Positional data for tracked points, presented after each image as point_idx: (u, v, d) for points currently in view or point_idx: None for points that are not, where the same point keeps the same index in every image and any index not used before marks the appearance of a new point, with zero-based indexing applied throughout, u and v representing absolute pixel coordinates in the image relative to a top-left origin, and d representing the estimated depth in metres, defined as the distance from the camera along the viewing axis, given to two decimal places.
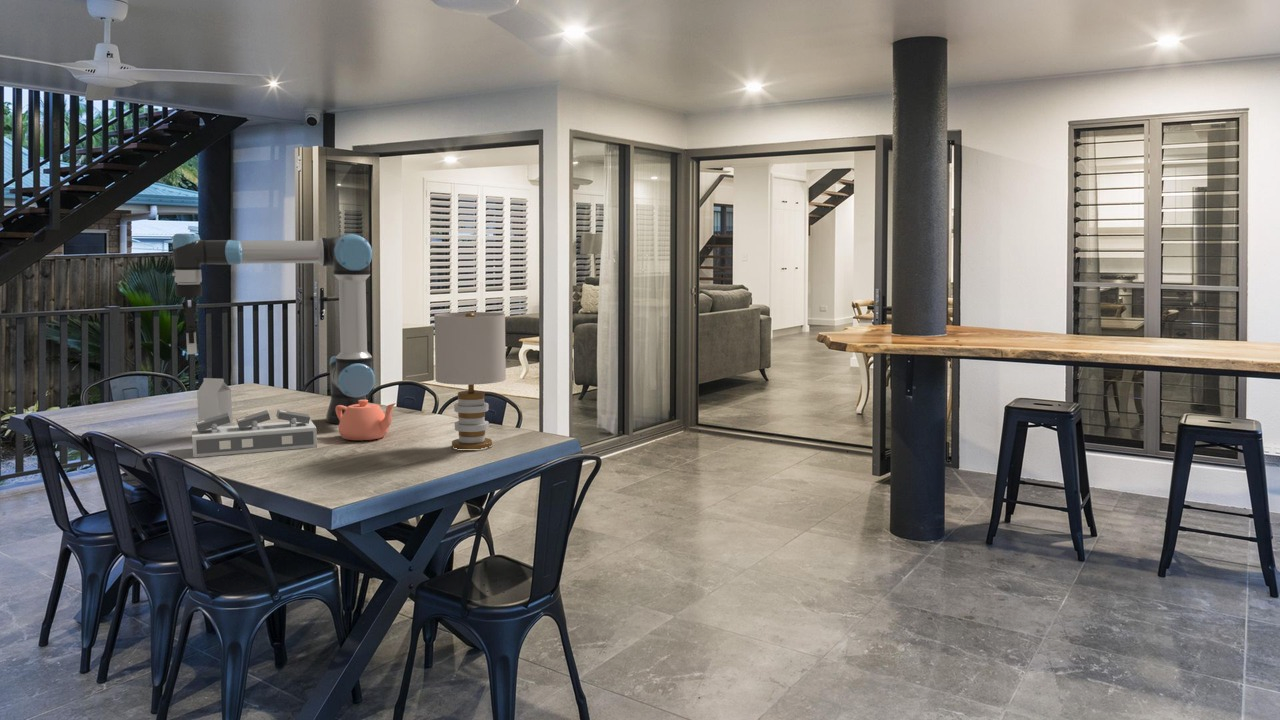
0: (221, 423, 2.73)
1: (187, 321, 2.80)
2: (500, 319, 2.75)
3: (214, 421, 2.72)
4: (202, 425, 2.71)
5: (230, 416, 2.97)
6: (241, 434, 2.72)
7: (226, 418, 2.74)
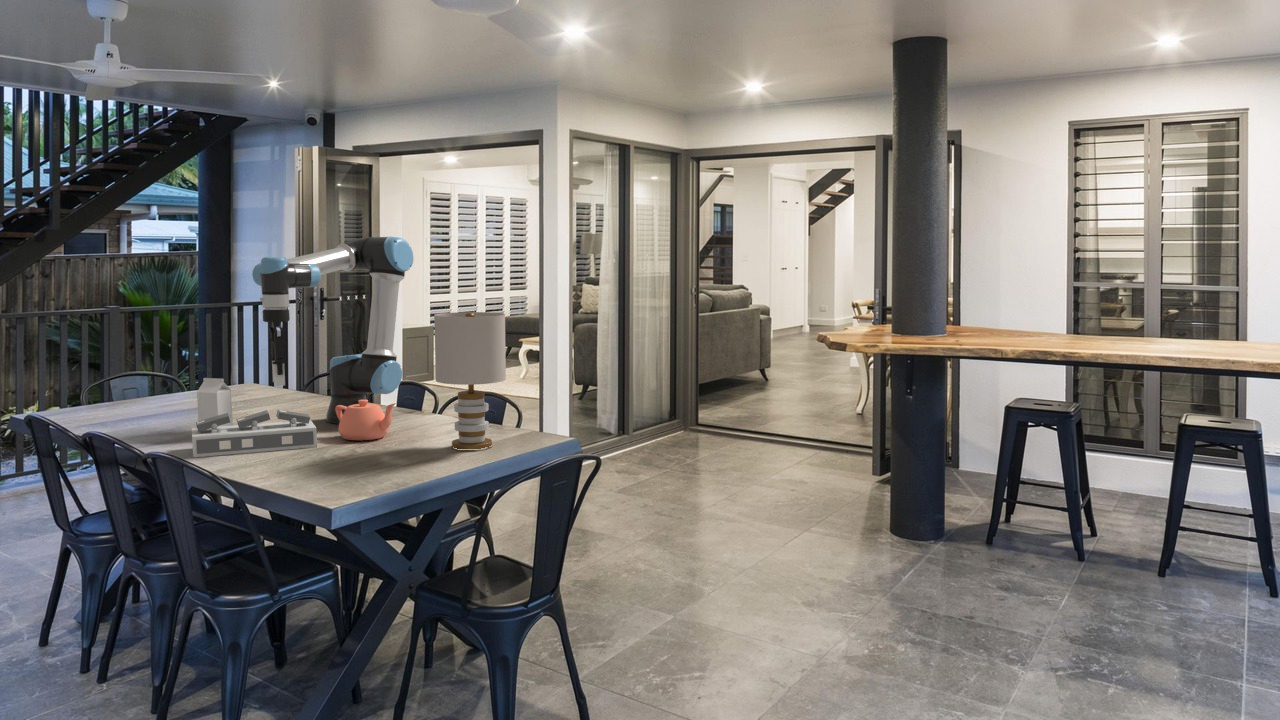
0: (221, 423, 2.73)
1: (276, 352, 2.74)
2: (500, 319, 2.75)
3: (214, 421, 2.72)
4: (202, 425, 2.71)
5: (230, 416, 2.97)
6: (241, 434, 2.72)
7: (226, 418, 2.74)
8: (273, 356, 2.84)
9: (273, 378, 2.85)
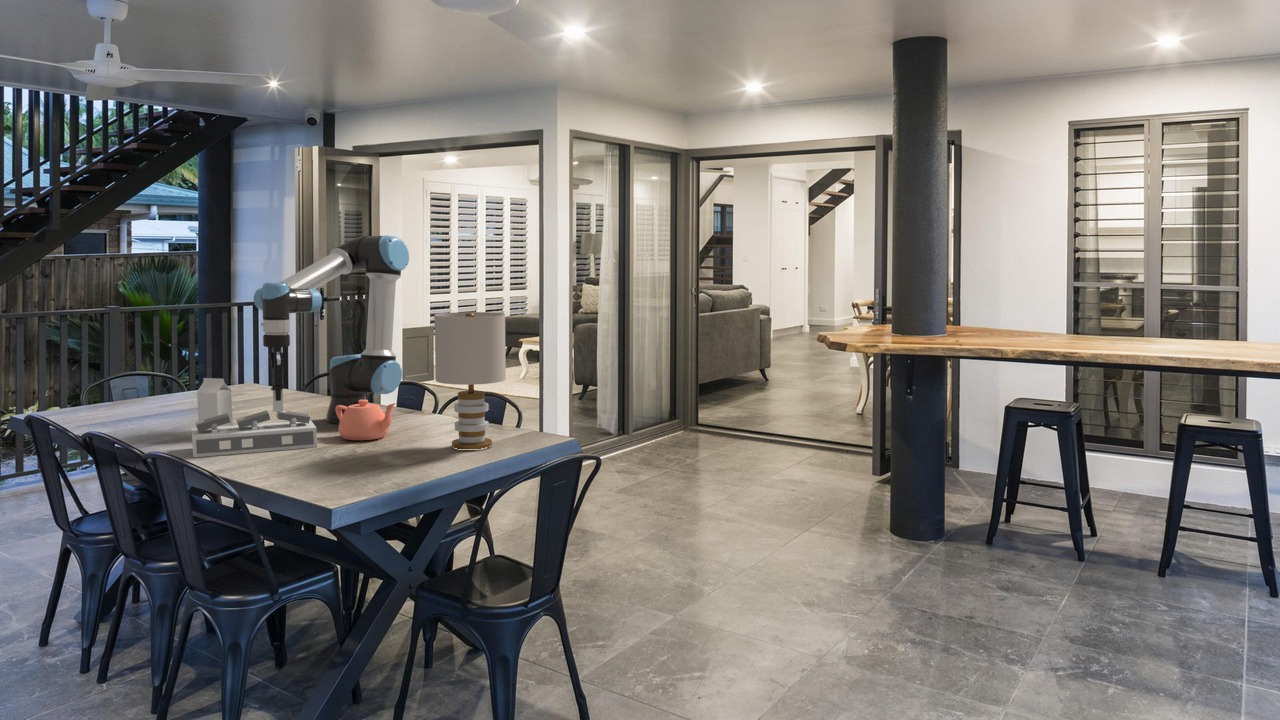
0: (221, 423, 2.73)
1: (275, 380, 2.77)
2: (500, 319, 2.75)
3: (214, 421, 2.72)
4: (202, 425, 2.71)
5: (230, 416, 2.97)
6: (241, 434, 2.72)
7: (226, 418, 2.74)
8: (274, 383, 2.82)
9: None
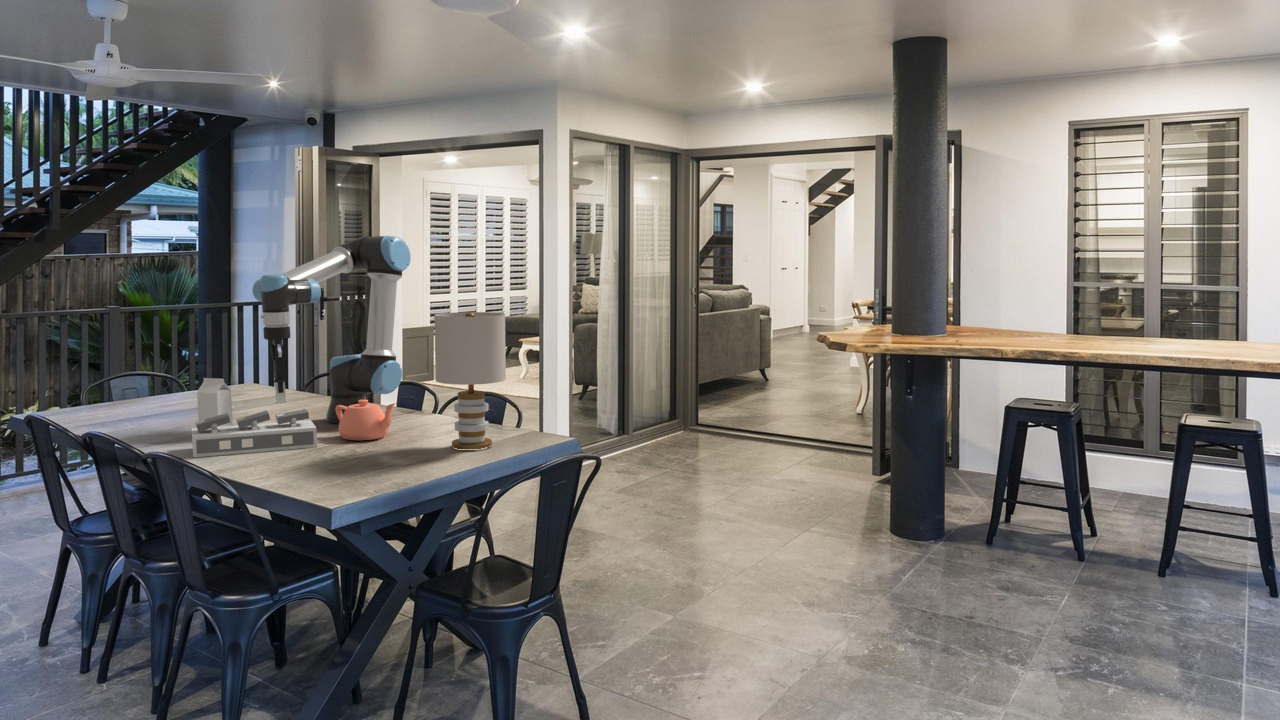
0: (221, 423, 2.73)
1: (277, 372, 2.78)
2: (500, 319, 2.75)
3: (214, 421, 2.72)
4: (202, 425, 2.71)
5: (230, 416, 2.97)
6: (241, 434, 2.72)
7: (226, 418, 2.74)
8: (276, 376, 2.82)
9: None
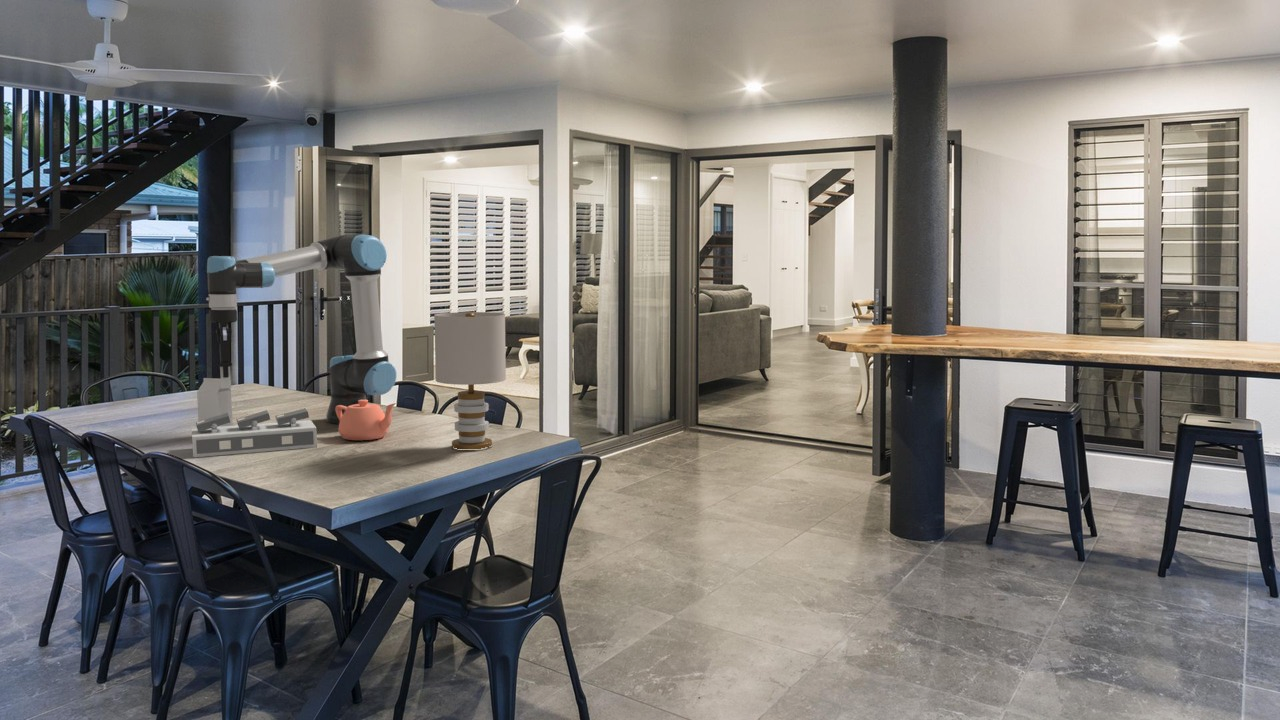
0: (221, 423, 2.73)
1: (222, 356, 2.70)
2: (500, 319, 2.75)
3: (214, 421, 2.72)
4: (202, 425, 2.71)
5: (230, 416, 2.97)
6: (241, 434, 2.72)
7: (226, 418, 2.74)
8: None
9: None
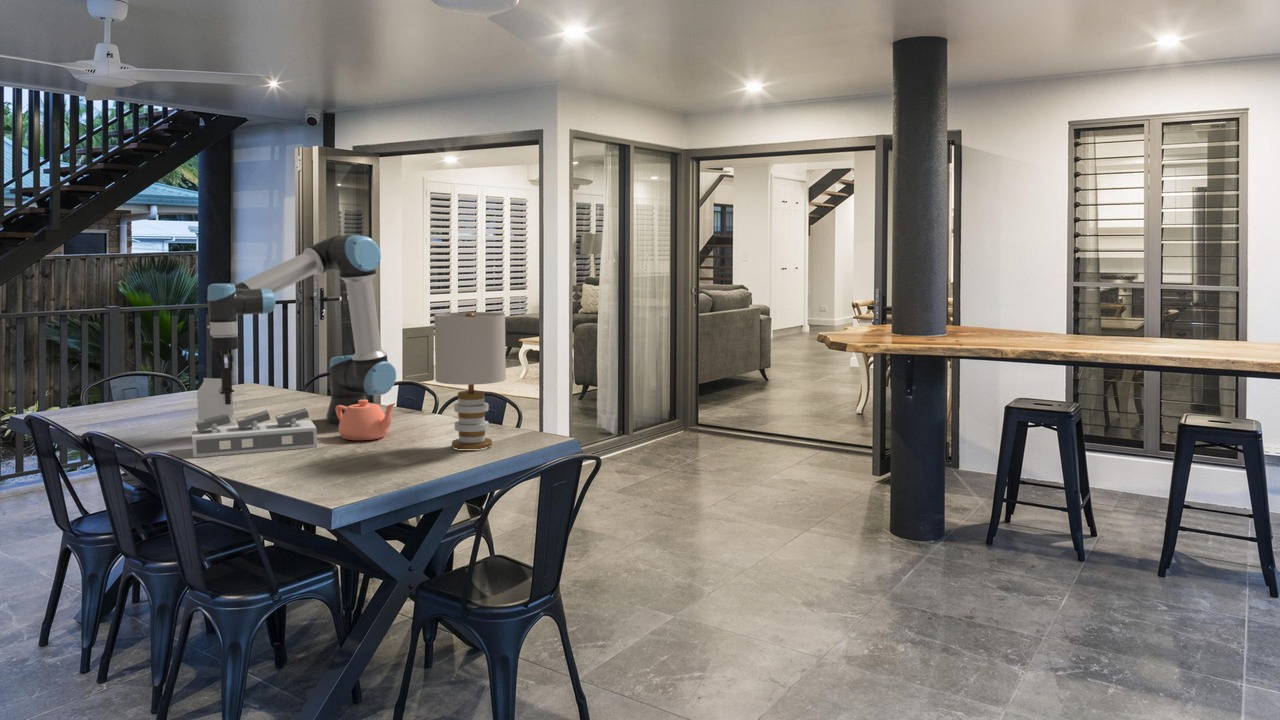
0: (221, 423, 2.73)
1: (224, 383, 2.71)
2: (500, 319, 2.75)
3: (214, 421, 2.72)
4: (202, 425, 2.71)
5: (230, 416, 2.97)
6: (241, 434, 2.72)
7: (226, 418, 2.74)
8: (223, 387, 2.76)
9: None
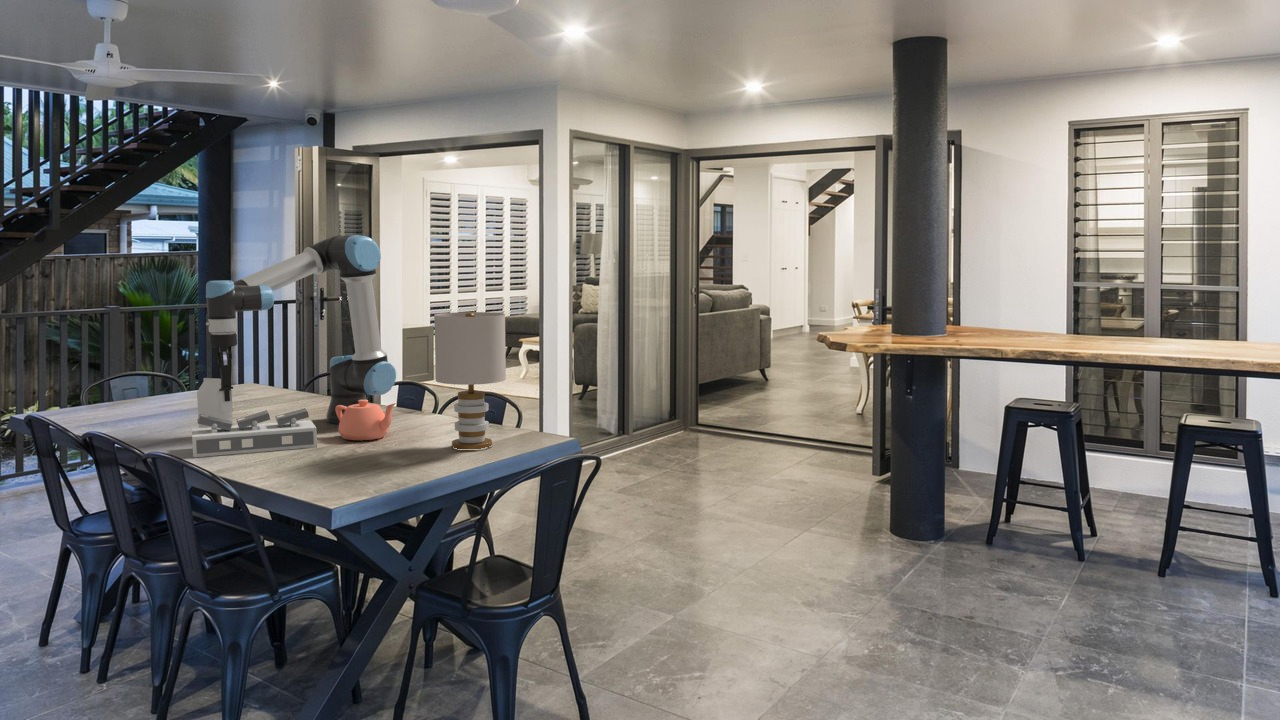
0: (221, 427, 2.73)
1: (223, 380, 2.71)
2: (500, 319, 2.75)
3: (217, 422, 2.73)
4: (204, 419, 2.71)
5: (230, 416, 2.97)
6: (241, 434, 2.72)
7: (228, 425, 2.74)
8: None
9: (223, 408, 2.76)
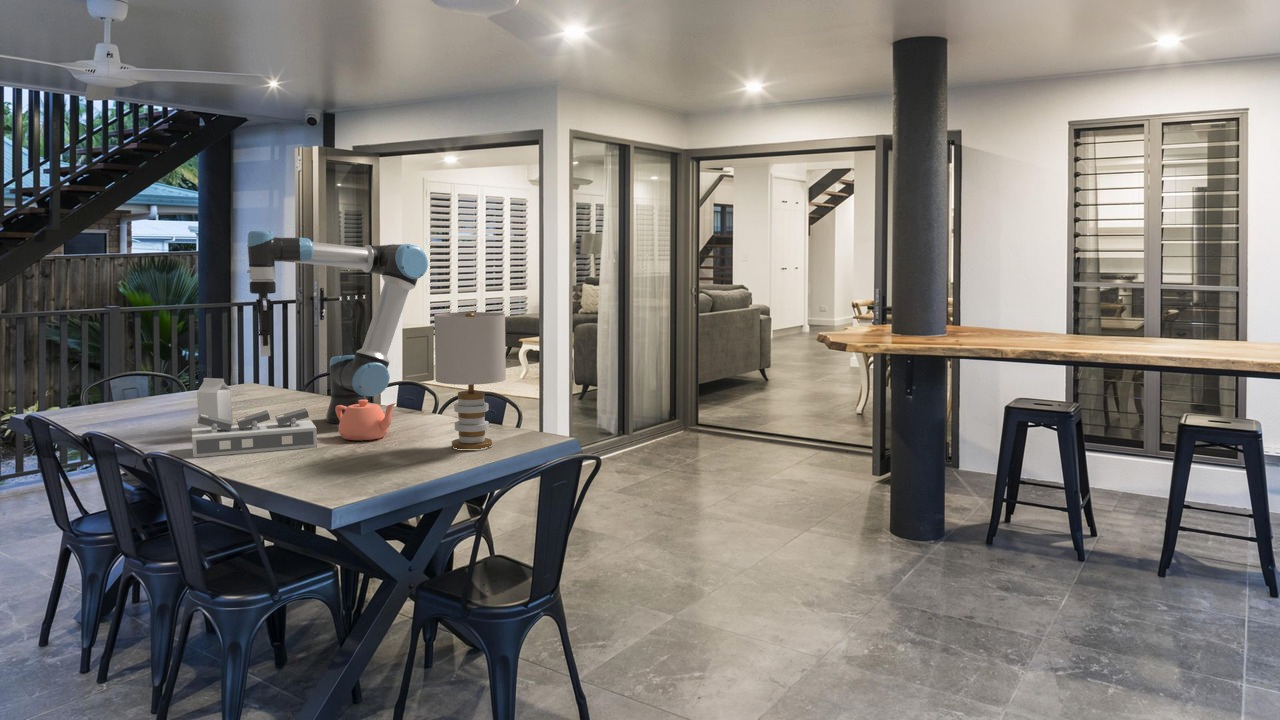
0: (221, 427, 2.73)
1: (262, 325, 2.86)
2: (500, 319, 2.75)
3: (217, 422, 2.73)
4: (205, 419, 2.71)
5: (230, 416, 2.97)
6: (241, 434, 2.72)
7: (228, 425, 2.74)
8: (261, 329, 2.91)
9: (261, 352, 2.91)
